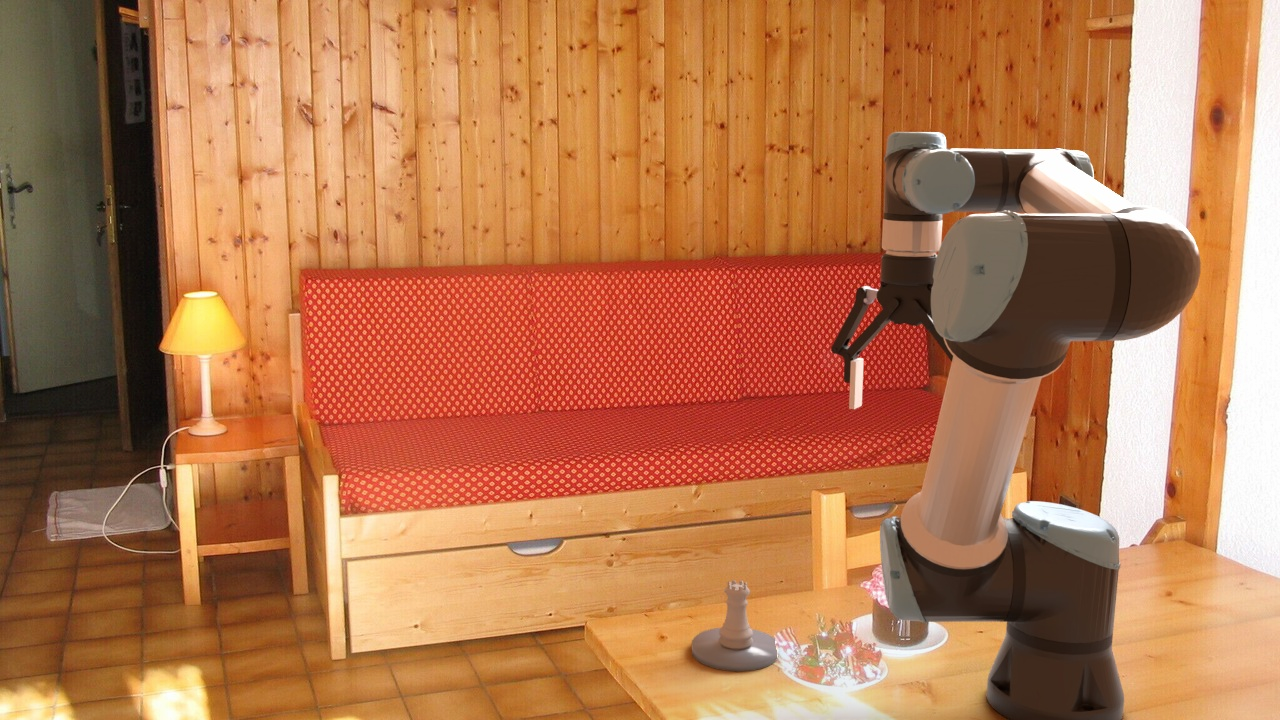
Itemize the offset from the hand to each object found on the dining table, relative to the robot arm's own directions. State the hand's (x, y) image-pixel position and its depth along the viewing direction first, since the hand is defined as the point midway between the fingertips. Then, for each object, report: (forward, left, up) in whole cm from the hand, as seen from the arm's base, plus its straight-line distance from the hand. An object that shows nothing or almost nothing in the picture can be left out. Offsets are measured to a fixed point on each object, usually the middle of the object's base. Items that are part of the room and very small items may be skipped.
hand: (903, 413), depth 168 cm
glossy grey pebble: (+13, +22, -29) cm, 38 cm away
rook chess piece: (+13, +22, -28) cm, 37 cm away
